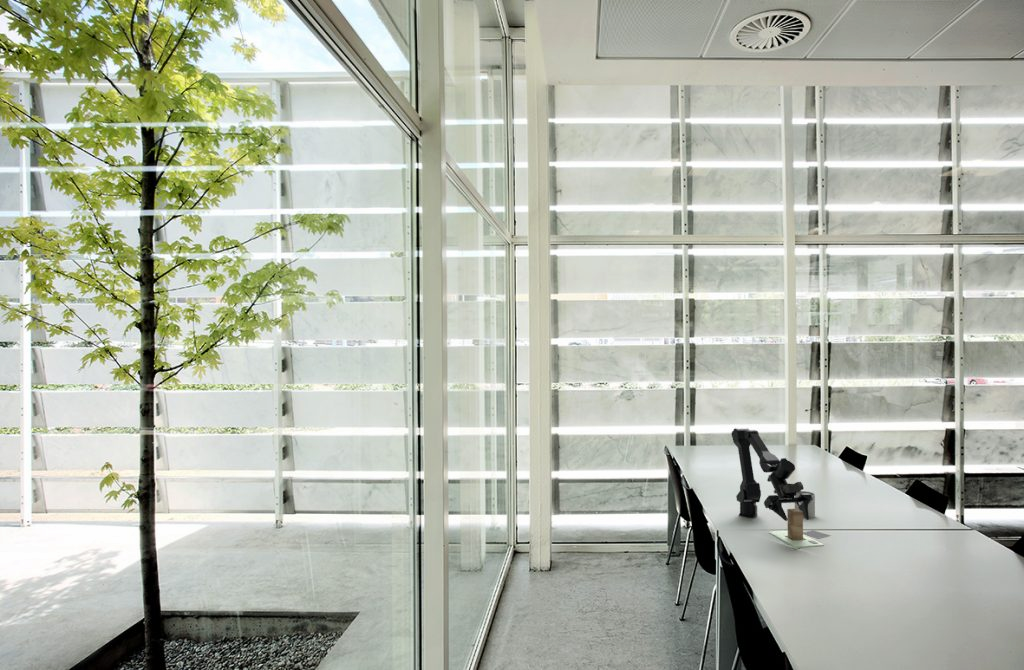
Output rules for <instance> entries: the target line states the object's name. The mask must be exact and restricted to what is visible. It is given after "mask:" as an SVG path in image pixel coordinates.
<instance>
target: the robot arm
mask: <svg viewBox="0 0 1024 670" xmlns="http://www.w3.org/2000/svg"><path fill="white" fill-rule="evenodd" d="M731 437H732V442H733V444H734V445H735V446H736V447H737V451H738V455H739V463H740V471H741V477H742V481H741V482H740V484H739V491H738V492H737V495H735V497H736V501H737V502H738V503H739V513H738V516H739V517H747V518H752V519H754V518H755V517H756V516H758V505H757V503H760V501H761V497H762V490H761V484H760V483H759V482H757V481H756V479H755V477H754V476H755V475H754V470H753V463H752V456H751V451H750V447H752V448H753V450H754V452H755V453H756V455H757V457H758V458H759V466H760V468H761V470H762V472H763V473H770V474H768V477H767V480H766V481H767V482H771V484H772V487H773V489H774V490H773V493H774V495H773V494H772V495H767V497H766V499H765V500H764V501H763V505H764V508H765V509H769V510H771V511H773V512H774V514H777V515H778V516H779V517H780V518H781V519H782V520H784V521H785V522H788V516H787V514H786V513H785V511H784V508H783V505H782V504H787V503H788V504H791V503H794V504H795V503H797V505H798V506H799V507H798V508H799V509H800V510H801V511H803V515H804V516H803V518H805V519H806V520H807V521H808V520H809V519H810V517H809V515H808V504H809V503H810V502H811V501H812V500H813V498H812V496H811V494H800V496H799V497H796V498H795V496H796V495H797V492H801V491H804V485H803V482H802V481H796V482H794V483H788V481H787V480H788V479H789V478H790V477H791V476H792V474H793V473H794V472H795V470H796V466H795V464H794V463H793V462H791V461H790V460H787V458H786V457H785V458H784V457H782V458H781V459H779V458H778V457H777V456H776V455H775V454H774V453H771V451H770V450H769V448H768V447H767V445H766V444H765V443H764V441H763V439H762V438H761V437H760V434H759V431H758V430H756V429H749V428H748V427H741V428H739V427H738V428H737V427H736V428H733V430H732V431H731Z"/></svg>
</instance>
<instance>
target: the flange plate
mask: <svg viewBox="0 0 1024 670" xmlns="http://www.w3.org/2000/svg"><path fill="white" fill-rule="evenodd" d="M768 533H769V534H770V535H772V536H774V537H776V538H778V539H780V540H781V541H783V542H784V543H786V545H788V546H790V547H791V548H792V549H795V550H800V549H801V550H802V548H808V547H809V548H811V547H824V546H825V544H824V543H821V542H819V541H817V540H816V539H813V537H811V536H807V535H804V534H803V540H798V541H793V540H791V539H789V538H788V529H787V530H773V531H771V530H770V531H768Z"/></svg>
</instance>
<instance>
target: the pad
mask: <svg viewBox="0 0 1024 670" xmlns="http://www.w3.org/2000/svg"><path fill="white" fill-rule="evenodd" d="M803 534H804V535H806V536H808V537H810V538H815V539H818V540H821V539H824V538H829V537H831V536H832V535H830V534H828V533H823V532H820V531H816V530H814V529H812V530H808V531H806V532H804V531H803Z"/></svg>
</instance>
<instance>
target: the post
mask: <svg viewBox="0 0 1024 670" xmlns="http://www.w3.org/2000/svg"><path fill="white" fill-rule="evenodd" d="M786 516H787V519H788V520H787V530H788V537H787V538H789V539H791V540H793V541H798V540H804V539H803V533H804V516H803V511H801V510H798V509H795V508H788V509H787V514H786Z"/></svg>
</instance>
